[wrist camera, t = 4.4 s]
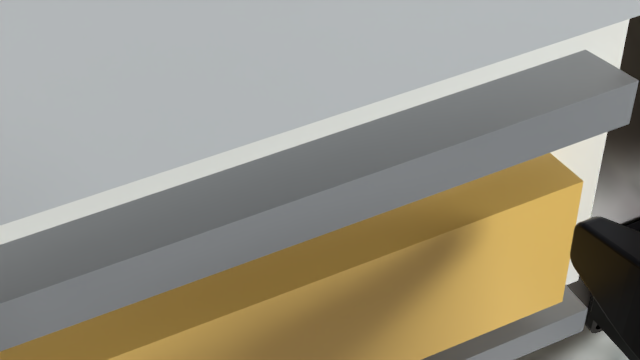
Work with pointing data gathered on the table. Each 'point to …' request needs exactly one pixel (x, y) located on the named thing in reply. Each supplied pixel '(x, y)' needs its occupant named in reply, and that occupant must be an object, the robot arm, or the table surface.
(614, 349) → the table surface
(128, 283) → the breaker box
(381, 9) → the grey rectangular block
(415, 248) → the yellow rectangular block
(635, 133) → the table surface
